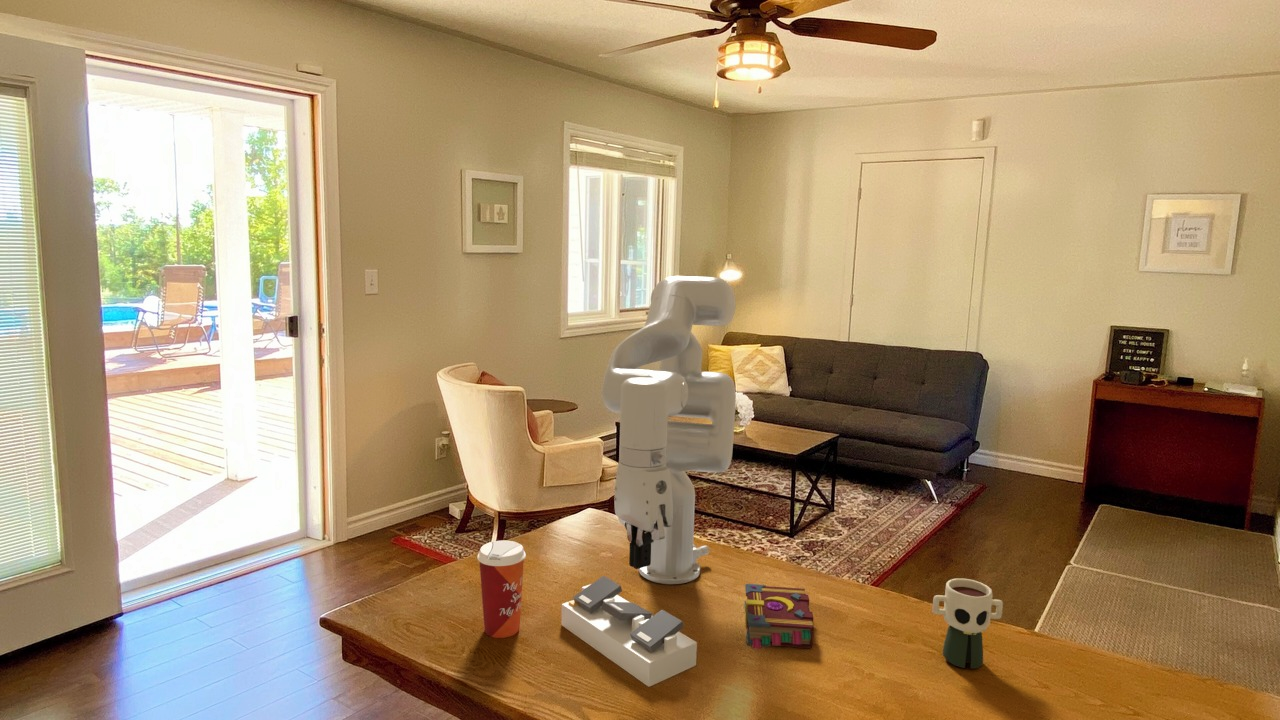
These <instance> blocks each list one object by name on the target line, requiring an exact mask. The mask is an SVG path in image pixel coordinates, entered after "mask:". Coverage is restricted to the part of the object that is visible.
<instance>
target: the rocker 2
mask: <svg viewBox="0 0 1280 720" xmlns="http://www.w3.org/2000/svg"><path fill="white" fill-rule="evenodd" d="M652 616H653V617H651V618H650V619H649V620H647V621H646V622H645V623H644V624H642V625H641V626H640V627H638V628H637V629H636V630H635V631H633V632H632V633H631V634H630V635H631V639H632V640H633V641H634V642H636V643H637V644H639V645H640V646H642V647H643V648H645V649H647V650H648V651H650V652H651V653H653V652H654V651H655V650H656V649H658V648H659V647H660V646H661V645H662V644H664V638H666V637H668V636H671V635H673V634H674V635H675V634H676V633H677V632H678V631H679V632H680V631H681V630H682V629H683V628H685V626H684V623H683V620H681V619H679V618H678V617H676V616H674V615H672V614H671V613H669V612H668V611H665V610H664V609H660V610H659V611H658V612H656V613H655V614H654V615H652Z"/></svg>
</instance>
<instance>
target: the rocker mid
mask: <svg viewBox="0 0 1280 720" xmlns="http://www.w3.org/2000/svg"><path fill="white" fill-rule="evenodd" d="M601 609H603V610H604V611H606V612H607V613H609V614H610V615H612V616H614V617H615V618H617V619H618V620H632V618H634V617H637V616H640V615H643V616H644V620H646V619H650V618H651V617H652V616H653V613H652V612H650V611H649V610H647V609H645V608H643V607H642V606H641V605H639V604H637V603H635V602H631V601H628V602H603V604H602V608H601Z"/></svg>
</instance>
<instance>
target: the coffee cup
mask: <svg viewBox="0 0 1280 720" xmlns="http://www.w3.org/2000/svg"><path fill="white" fill-rule="evenodd" d="M526 557H527V555H526V551H525V550H524V546H523V545H522V544H521V543H518V542H517V541H512V540H505V539H504V540H502V539H501V540H495V541H493V540H492V541H489V542H487V543H485V544H483V545H482V546H481V547H480V549H479V552H478V554H477V557H476V558H477V561H478V562H479V572H480V573H479V574H480V587H481V599H482V600H481V601H482V603H481V604H482V614H483V626H484V632H485V634H486V635H487V636H488V637H491V638H494V639H505V638H506V639H507V638H510V637H513V636H516V634H517V633H519V631H520V627H521V614H522V611H521V610H522V599H523V583H524V582H523V578H524V564H525V563H524V561H525V559H526Z"/></svg>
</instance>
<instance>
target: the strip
mask: <svg viewBox="0 0 1280 720" xmlns="http://www.w3.org/2000/svg"><path fill="white" fill-rule="evenodd" d="M591 584H592V583H590V584H588V585H584V586H582V587H581V591H582V590H584V589H585V588H587V587H588V586H589V585H591ZM603 602H629V601H628V599H627V600H626V599H625V598H623V597H622V596H620V595H619V594H617V595H616V596H615V597H611V598H608V599H605V600H603ZM601 608H602V606H601V607H600V608H598V609H597V610H596V611H594V612H593V613H590V612H588V611H587V610H585V609H584V608H582V607H581V606H579V605H578V604H576V603H575V602H574V599H573V598H572V600H569V601H566V602H563V603H561V622H560V623H561V626H562V627H563V628H565V629H566V630H567V631H569V632H571V633H572V634H573V635H574V636H576V637H577V638H579V640H582V641H583V642H585V643H586V644H587V645H588V646H590V647H592V648H593V649H594V650H596V651H598V652H599V653H600V654H602V655H603V656H604V657H605V658H607V659H609V660H610V661H611V662H613V663H614V664H616V666H618V667H620V668H622V669H623V670H624V671H626V672H627V673H628V674H630V675H631V676H632V677H634V678H635V679H637V680H638V681H640V682H641V683H642V684H644V685H646V687H648V688H650V687H651V686H655V685H656V684H658V683H661V682H663V681H665V680H667V679H669V678H671V677H672V678H673V676H674V677H675V676H676V675H678V674H680V673H683V672H685V671H686V670H689V669H691V668H693V667H695V666H697V650H698V642H697V641H695V640H694V639H692V638H690V637H689V636H687V635H686V634H684V633H682V632H680V631H678V632H677V633H676V634H675V635H674V634H673V635H671V636H668V637H666V638H664V644H662V645H661V646H660V647H659V648H658V649H656V650H655V651H654V652H653V653H651V652H650V651H648V650H647V649H645V648H643V647H642V646H640V645H639V644H637V643H636V642H634V641H633V640H632V639H631V635H630V634H631V633H632V632H633V631H635V630H636V629H637V628H638V627H640V626H641V625H642V624H644V623H645V622H646V621H647V620H649V619H646V620H644V616H643V615H640V616H637V617H634V618H632V620H618V619H617V618H615V617H614V616H612V615H610V614H609V613H607V612H606V611H604V610H603V609H601ZM653 616H654V615H652V617H653Z"/></svg>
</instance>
